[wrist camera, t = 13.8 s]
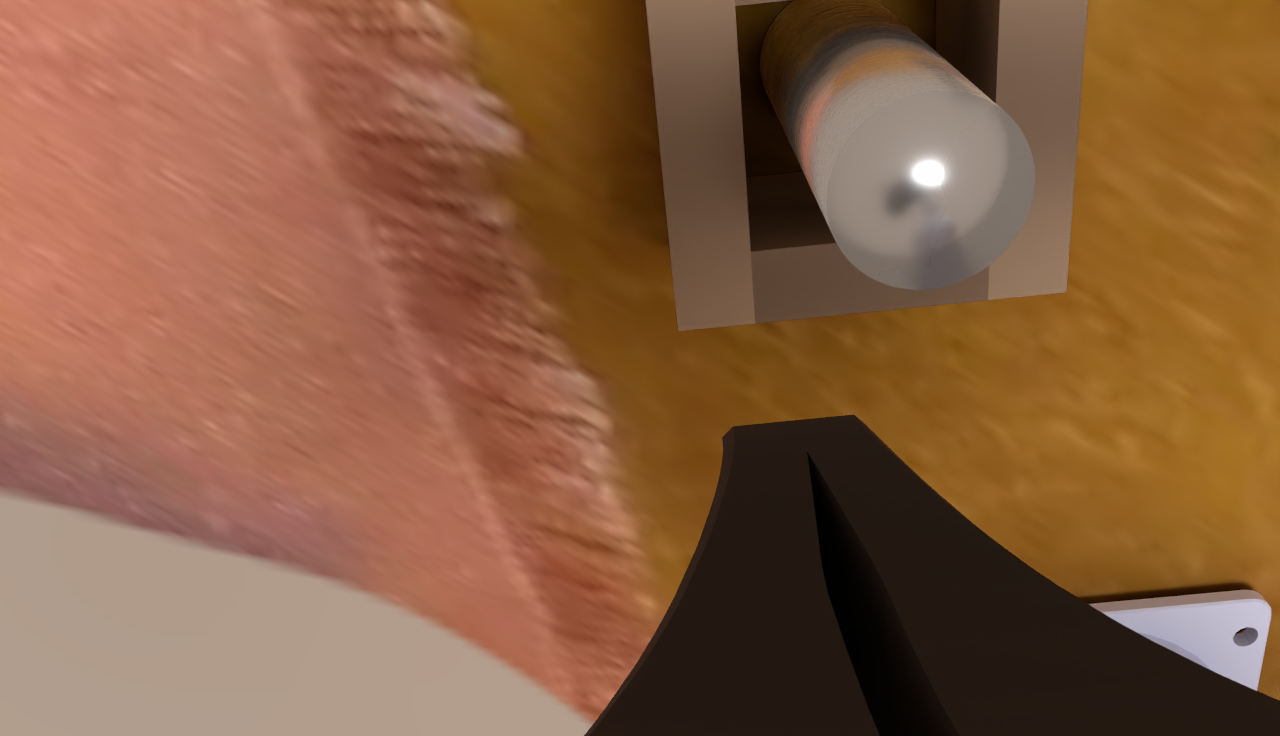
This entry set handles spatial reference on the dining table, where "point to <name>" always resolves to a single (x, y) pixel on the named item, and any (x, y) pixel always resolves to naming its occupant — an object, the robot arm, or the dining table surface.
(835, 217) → the pin
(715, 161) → the square hole block
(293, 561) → the dining table surface
